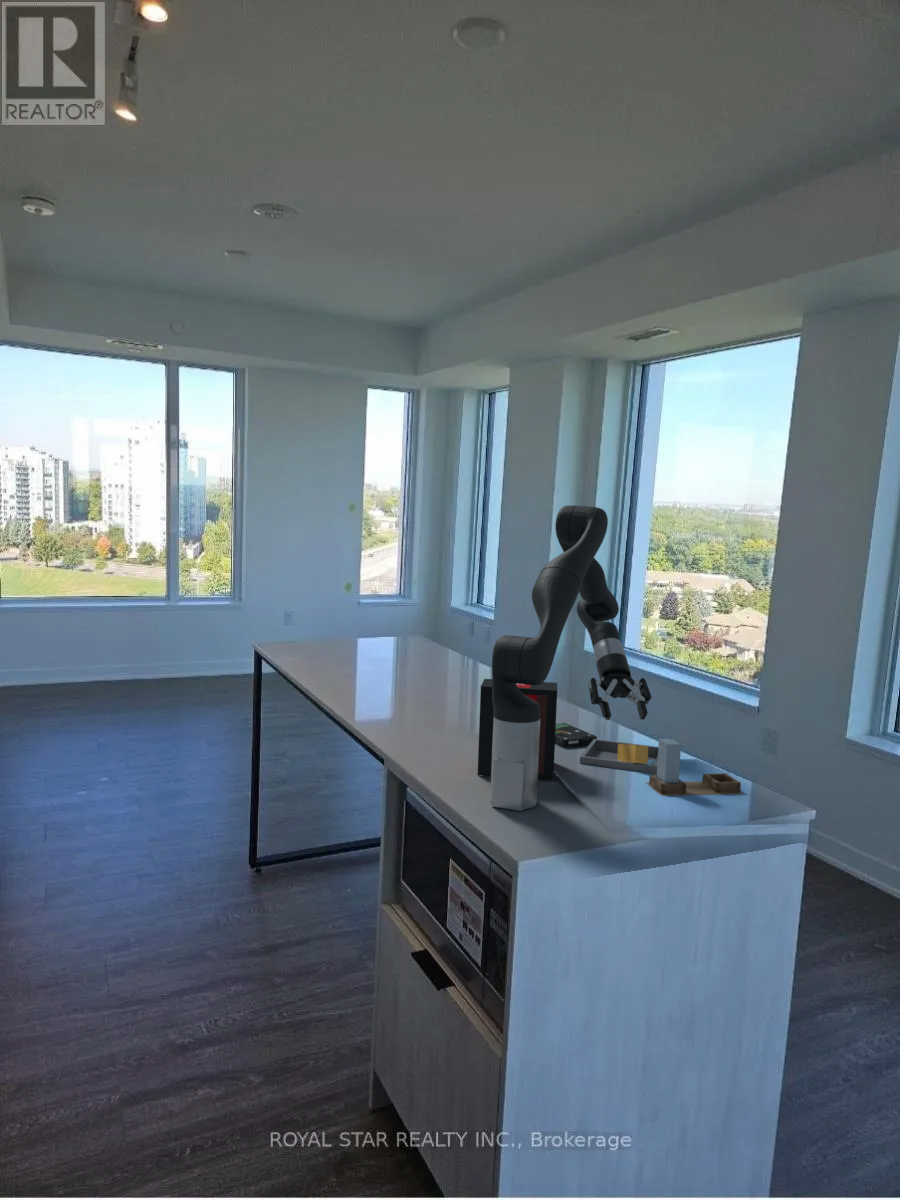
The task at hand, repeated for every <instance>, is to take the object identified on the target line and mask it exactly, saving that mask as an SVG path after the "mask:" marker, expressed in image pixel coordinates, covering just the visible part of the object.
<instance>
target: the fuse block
mask: <svg viewBox="0 0 900 1200" xmlns="http://www.w3.org/2000/svg"><path fill="white" fill-rule="evenodd" d="M648 780H649V781H648V782H645V784H647V785H648V786H649V787H650V788H651V789H652V790H654V791H655V792H656V793H657V794H659V795H660V796H663V797H665V796H667V797H669V796H671V797H672V796H676V797H677V796H702V795H703V796H707V795H708V796H709V795H710V796H711V795H744V792H743V791H741V788H742V787H741V785H742V784H741V781H738V779H736V778H734V777H732V776H730V775H729V774H728V773H726V772H725V773H702V781H683V780H681V779H680V778H679V783H663V782H662V781H661V780H659V779H658V778H657V774H649V779H648Z"/></svg>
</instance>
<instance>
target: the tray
mask: <svg viewBox="0 0 900 1200" xmlns="http://www.w3.org/2000/svg"><path fill="white" fill-rule="evenodd" d="M618 744H632V745H640V744H637V743H631V742H630V743H629V742H624V741H623V742H621V741H615V740H614V741H612V740H605V739H598V738H597V739H593V741H592V742H591V743H590V745H589V746H586V748H585V749H584V751H583V752H582V753H581V755H580V756H579V764H581V765H582V764H583V765H590V766H597V767H604V768H611V769H617V770H618V769H619V770H625V771H633V772H641V773H647V774H653V775H657V764H658V747H659V746H656V745H655V746H653V745H648V744H647V745H646V744H644V745H645V746H648V761H654V762H653V764H641V763H631V762H623V761H617V756H618Z"/></svg>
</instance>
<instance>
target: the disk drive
mask: <svg viewBox="0 0 900 1200" xmlns="http://www.w3.org/2000/svg"><path fill="white" fill-rule="evenodd" d="M593 739H598V736H597V735H594V734H592V733H590V732H587V731H585V730H583V729H580V728H578V727H575V726H573V725H571V724H568V723H566V722H563V723H556V731H555V746H558V747H560V748H562V749H570V748H571V749H572V748H580V747H588V746H589V745H590V743H591V742H592V741H593Z"/></svg>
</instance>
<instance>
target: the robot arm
mask: <svg viewBox="0 0 900 1200" xmlns="http://www.w3.org/2000/svg"><path fill="white" fill-rule="evenodd" d="M607 514H608V513H607V512H606V511H605V510H604V509H603V508H600V507H596V506H589V505H588V506H586V505H573V504H572V505H564V506H562V507H561V508H560V509H559V510H558V511H557V515H556V518H555V525H554V526H555V534H556V539H557V541H558V543H559V545H560V548H561V550H562V553H560V554H559V555H557V556H555V557H554V558H552V559H551V560H549V561H548V562H547V563H546V564H544V566H543V567H542V569H541V571H540V572H539V574H538V576H537V579H536V581H535V583H534V585H533V587H532V591H531V601H532V605H533V609H534V610H535V612H536V615H537V618H538V620H539V624H540V629H539V631H538V634H537V635H536V636H535V637H529V636H517V635H511V634H510V635H507V634H506V635H501V636H499V638H498V639H497V640H495V644H494V645H493V649H492V658H491V679H492V702H493V708H494V720H493V744H492V770H491V777H490V799H489V800H490V803H491V807H494V808H500V809H506V810H512V811H519V812H523V811H524V810H528V809H532V808H534V807H536V805H537V804H538V782H539V780H538V760H539V736H540V715H541V708H540V705H539V704H538V703H537V702H536V701H534V700H532V699H531V698H529V697H527V696H526V695H524V694H523V693H522V692H521V691H520V690H519V689H518V687H517V684H525V685H540V684H542V683H543V682H546V679H547V678H548V675H549V674H550V671H551V669H552V665H553V663H554V660H555V656H556V652H557V650H558V649H557V648H558V645H559V643H560V639H561V636H562V633H563V631H564V628H565V625H566V623H567V621H568V618H569V615H570V614H571V611H572V609H573V607H574V605H575V602H576V600H577V597H578V596H580V597H581V598H582V599H580V600H579V601H578V602H577V604H576V614H577V616H578V618H579V620H580V622H581V623H582V624H583V626H584V627H585V629H586V631H587V633H588V634H589V637H590V641H591V645H592V649H593V657H594V658H593V659H594V663H595V666H596V669H597V673H598V677H599V680H598V679H596V678H594V677H591V678H590V679H589V683H588V684H587V685H588V690H589V691H588V693H589V698H590V702H591V704H592V705H598V706H599V707H600V712H601V715H602V717H603V718H604V719H605V720H606V721H607V720H610V719H611V717H612V714H611V713H612V712H611V709H610V704H609V702H608V700H609V698H610V697H611V698H613V699H618V698H621V699H626V698H627V699H628V700H629V701H630V702H633V703H634V704H635V705H636V708H637V712H638V715H639V719H640V720H643V721H644V720H645V718H646V717H647V715H648V710H647V709H648V708H647V705H648V704H649V703H650V701H651V699H652V694H651V692H650V689H649V685H648V683H647V681H646V679H645V678H644V677H641V678H640V679H637V680H634V679H633V677H632V674H631V669H630V666H629V661H628V659H627V655H626V651H625V648H624V646H623V643H622V642H621V637H620V633H619V630H618V628H617V625H616V624H615V623H613V622H611V620H614V619H615V618H616V617H617V616H618V613H619V608H620V606H619V603H618V601H617V599H616V598H615V596H614V595H613V593H612V592H611V590H610V589H609V587H608V585H607V579H606V574H605V571H604V569H603V567H602V565H601V564H600V562H598V560H597V559H596V558H595V556H596V555H597V553H598V551H599V549H600V548H601V546H602V544H603V542H604V539H605V537H606V534H607V530H608V526H609V518H608V515H607ZM516 683H517V684H516ZM599 687H600V688H601V689H602V690H603V691H604V694H603V695H602V696H599V692H598V691H599V690H598V689H599ZM631 693H632V694H631Z"/></svg>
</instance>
